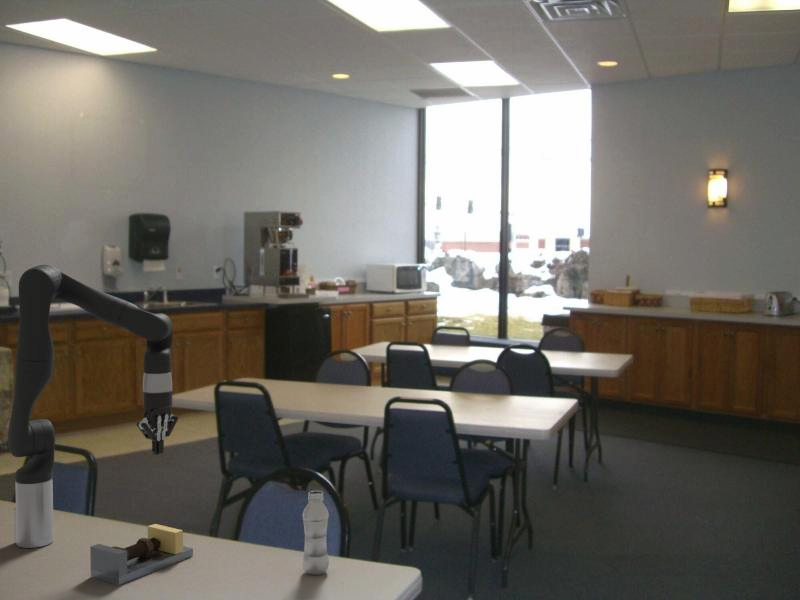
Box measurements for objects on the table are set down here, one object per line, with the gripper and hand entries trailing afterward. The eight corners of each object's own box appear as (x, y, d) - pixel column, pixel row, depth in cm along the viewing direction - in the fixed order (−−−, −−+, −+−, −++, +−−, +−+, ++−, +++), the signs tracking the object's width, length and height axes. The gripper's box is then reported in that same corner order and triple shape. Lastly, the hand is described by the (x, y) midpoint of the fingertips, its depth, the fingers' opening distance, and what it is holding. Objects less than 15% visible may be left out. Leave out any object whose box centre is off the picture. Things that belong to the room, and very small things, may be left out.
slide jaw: (147, 547, 226) (147, 526, 226) (155, 544, 228) (155, 523, 228) (175, 554, 221) (175, 532, 221) (182, 551, 223) (182, 530, 223)
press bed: (90, 577, 211) (90, 546, 211) (165, 548, 232) (165, 521, 231) (119, 585, 206) (118, 554, 205) (192, 556, 226) (192, 527, 226)
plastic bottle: (333, 569, 217) (333, 490, 216) (321, 579, 211) (322, 497, 210) (309, 566, 219) (309, 488, 218) (297, 576, 213) (297, 495, 212)
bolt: (158, 558, 224) (115, 575, 210) (145, 545, 226) (102, 561, 212) (167, 540, 222) (125, 556, 209) (154, 527, 224) (111, 543, 211)
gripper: (148, 393, 224) (148, 460, 225) (186, 387, 235) (186, 451, 236) (128, 391, 228) (128, 457, 229) (166, 384, 239) (166, 447, 240)
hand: (158, 453), depth 232 cm, fingers closed
